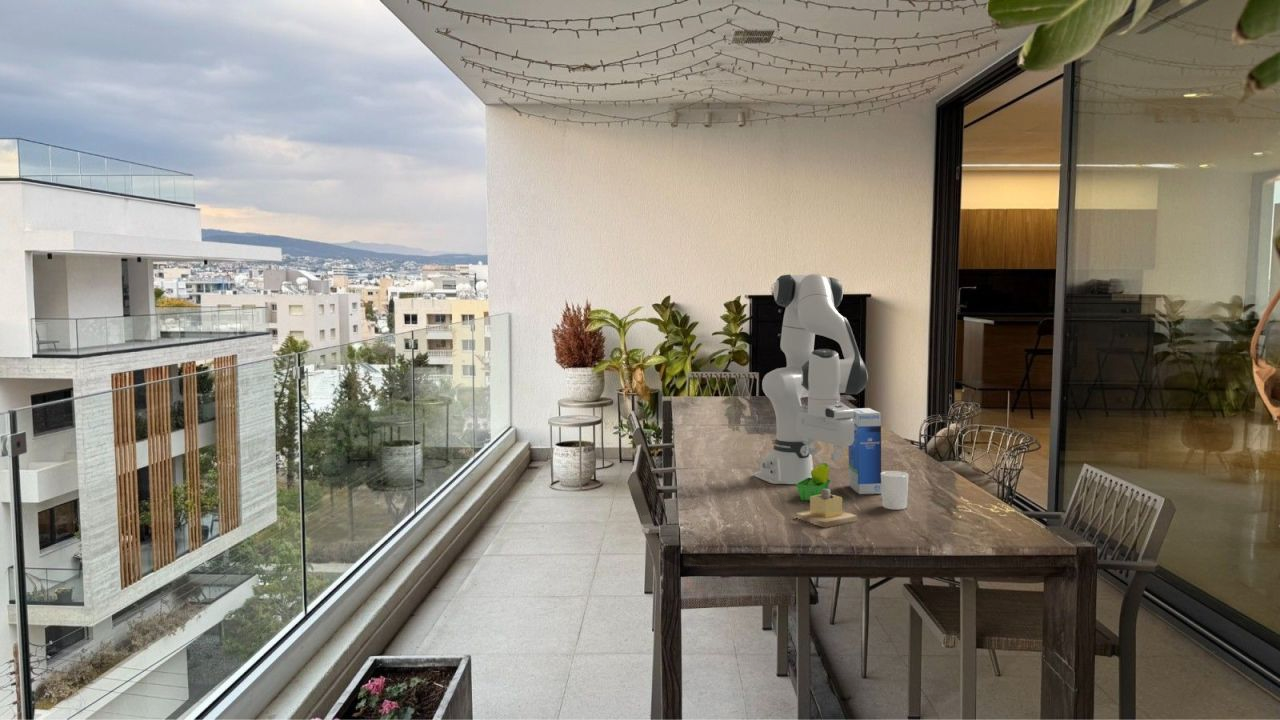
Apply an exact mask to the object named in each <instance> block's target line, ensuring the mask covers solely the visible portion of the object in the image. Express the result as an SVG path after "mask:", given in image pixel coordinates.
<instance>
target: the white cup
mask: <svg viewBox="0 0 1280 720" xmlns="http://www.w3.org/2000/svg"><path fill="white" fill-rule="evenodd" d="M881 490H882V494H881V498H882V507H883V508H884V509H887V510H892V511H893V510H905V509H907V505H908V493H909V473H908V472H906V471H900V470H886V471H885V470H884V471H881Z"/></svg>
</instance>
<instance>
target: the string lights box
mask: <svg viewBox="0 0 1280 720" xmlns="http://www.w3.org/2000/svg"><path fill="white" fill-rule="evenodd" d="M851 409H852V410H853V411H854V416H853V417H851V419H852V420H853V423H854V442H853V444H852V445H851V446H848V486H849V487H850V488H851V489H852V490H854V491H855V492H856V493H858V495H877V494H879V495H880V494H881V495H882V490H881V472H882V412H879V411H877V410H874V409H872V408H871V407H862V408H861V407H860V408H851Z"/></svg>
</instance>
